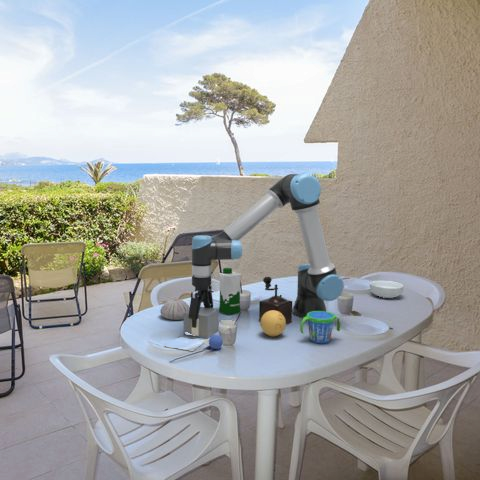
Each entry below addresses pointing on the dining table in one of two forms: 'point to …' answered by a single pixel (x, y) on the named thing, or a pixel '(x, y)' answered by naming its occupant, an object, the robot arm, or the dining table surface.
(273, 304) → the coffee grinder
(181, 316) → the sea urchin shell
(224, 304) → the milk carton
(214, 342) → the ball
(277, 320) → the stress ball
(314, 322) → the snack cup
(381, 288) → the cereal bowl
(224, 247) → the robot arm
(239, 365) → the dining table surface
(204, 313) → the grey cube
